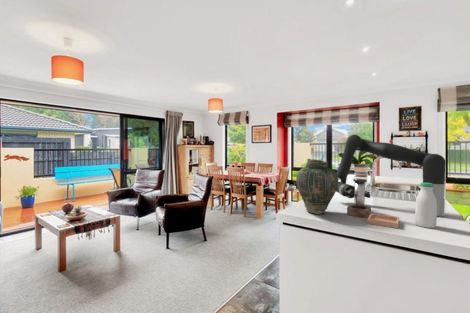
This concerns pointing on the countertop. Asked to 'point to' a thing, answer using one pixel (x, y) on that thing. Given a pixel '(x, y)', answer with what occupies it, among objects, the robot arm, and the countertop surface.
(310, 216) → the countertop surface
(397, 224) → the dish
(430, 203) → the milk bottle
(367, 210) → the socket block
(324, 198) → the vase
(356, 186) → the clear bottle
